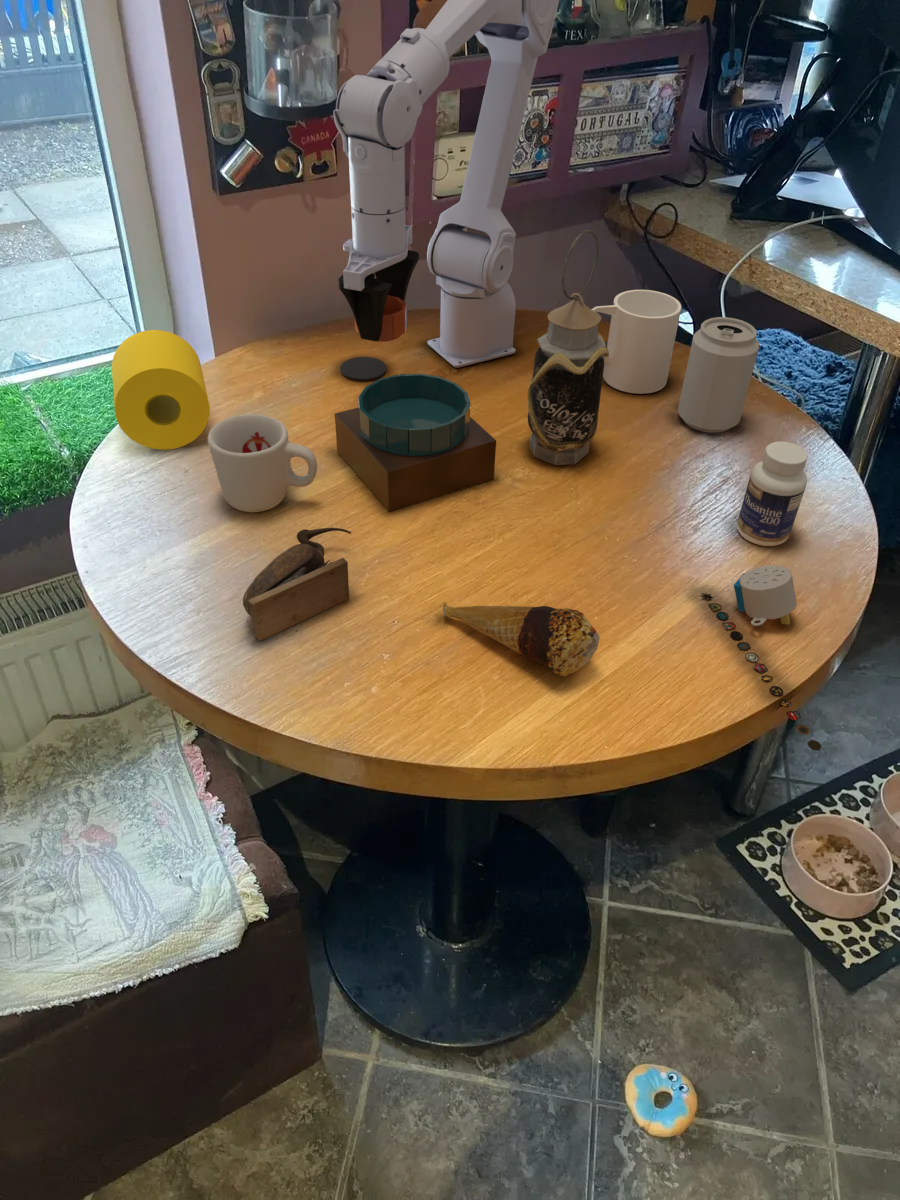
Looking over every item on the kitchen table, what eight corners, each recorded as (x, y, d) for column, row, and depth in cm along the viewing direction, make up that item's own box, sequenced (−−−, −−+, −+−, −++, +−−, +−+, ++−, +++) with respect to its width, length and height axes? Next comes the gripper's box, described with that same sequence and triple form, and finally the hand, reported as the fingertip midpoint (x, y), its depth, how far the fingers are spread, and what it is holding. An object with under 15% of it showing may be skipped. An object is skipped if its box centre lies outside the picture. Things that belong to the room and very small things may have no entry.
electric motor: (730, 638, 87) (782, 644, 84) (721, 593, 85) (774, 598, 82) (761, 600, 92) (812, 605, 88) (753, 557, 90) (805, 560, 86)
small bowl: (391, 316, 111) (390, 290, 109) (415, 337, 108) (415, 310, 105) (347, 326, 109) (345, 300, 107) (370, 348, 105) (369, 321, 103)
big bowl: (435, 390, 108) (435, 364, 106) (488, 439, 100) (490, 412, 98) (341, 414, 103) (340, 388, 101) (390, 467, 96) (389, 440, 94)
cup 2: (566, 367, 123) (575, 293, 116) (652, 360, 125) (666, 287, 118) (586, 398, 117) (597, 322, 110) (676, 390, 119) (692, 315, 113)
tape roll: (94, 415, 101) (93, 374, 108) (170, 465, 108) (164, 423, 114) (154, 350, 99) (149, 312, 105) (228, 405, 105) (218, 366, 112)
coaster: (374, 355, 125) (373, 352, 124) (394, 375, 121) (394, 372, 121) (332, 365, 122) (332, 362, 122) (352, 385, 118) (352, 382, 118)
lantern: (568, 478, 104) (597, 254, 88) (507, 453, 108) (524, 233, 91) (607, 445, 109) (641, 228, 93) (548, 422, 113) (571, 209, 96)
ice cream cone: (418, 626, 83) (574, 673, 76) (441, 566, 84) (597, 607, 77) (445, 646, 88) (593, 691, 81) (467, 589, 89) (614, 629, 82)
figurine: (386, 581, 90) (336, 537, 95) (385, 544, 87) (334, 500, 92) (258, 642, 83) (211, 590, 88) (252, 604, 80) (204, 553, 85)
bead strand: (710, 592, 90) (697, 594, 90) (710, 591, 90) (698, 593, 90) (825, 750, 76) (811, 753, 75) (825, 749, 76) (811, 752, 75)
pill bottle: (725, 531, 97) (747, 451, 91) (752, 510, 100) (775, 431, 94) (772, 555, 95) (798, 474, 88) (798, 532, 98) (825, 452, 91)
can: (744, 413, 116) (768, 321, 108) (731, 442, 111) (756, 347, 103) (684, 399, 118) (704, 308, 110) (669, 427, 113) (688, 333, 105)
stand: (436, 424, 112) (437, 386, 109) (494, 479, 104) (496, 440, 100) (336, 451, 107) (334, 413, 104) (388, 511, 99) (387, 471, 95)
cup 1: (327, 482, 102) (322, 418, 97) (311, 526, 96) (305, 460, 91) (229, 474, 103) (219, 410, 98) (208, 517, 97) (196, 451, 92)
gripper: (370, 179, 105) (374, 296, 114) (313, 223, 95) (322, 347, 104) (429, 188, 103) (428, 306, 112) (377, 233, 93) (381, 359, 102)
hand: (381, 326), depth 108 cm, fingers closed on small bowl, 6 cm apart
